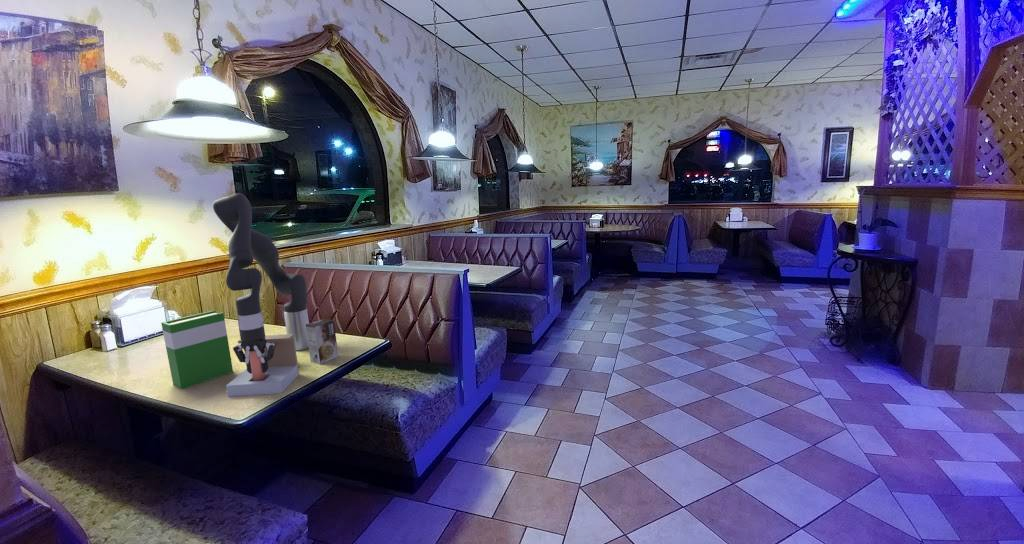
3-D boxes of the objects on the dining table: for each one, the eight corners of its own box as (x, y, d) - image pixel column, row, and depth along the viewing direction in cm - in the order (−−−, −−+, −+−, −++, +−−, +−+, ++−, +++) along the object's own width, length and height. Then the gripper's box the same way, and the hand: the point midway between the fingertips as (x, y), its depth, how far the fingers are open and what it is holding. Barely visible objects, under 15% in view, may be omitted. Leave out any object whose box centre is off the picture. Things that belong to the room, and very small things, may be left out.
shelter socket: (250, 377, 175) (243, 336, 172) (299, 374, 176) (293, 334, 173) (227, 396, 159) (220, 352, 156) (281, 393, 160) (275, 349, 157)
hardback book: (224, 368, 185) (214, 310, 180) (233, 371, 181) (223, 312, 176) (173, 384, 171) (161, 322, 166) (181, 389, 166) (169, 325, 162)
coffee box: (328, 354, 195) (324, 317, 192) (339, 357, 192) (334, 319, 189) (309, 362, 188) (304, 324, 184) (320, 364, 184) (315, 326, 181)
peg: (251, 384, 162) (246, 352, 160) (256, 380, 166) (251, 348, 163) (262, 384, 162) (258, 351, 160) (268, 379, 166) (263, 347, 164)
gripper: (224, 330, 156) (232, 377, 159) (267, 327, 157) (274, 375, 160) (235, 323, 163) (242, 369, 167) (277, 321, 164) (283, 366, 167)
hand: (258, 372), depth 163 cm, fingers closed on peg, 4 cm apart
